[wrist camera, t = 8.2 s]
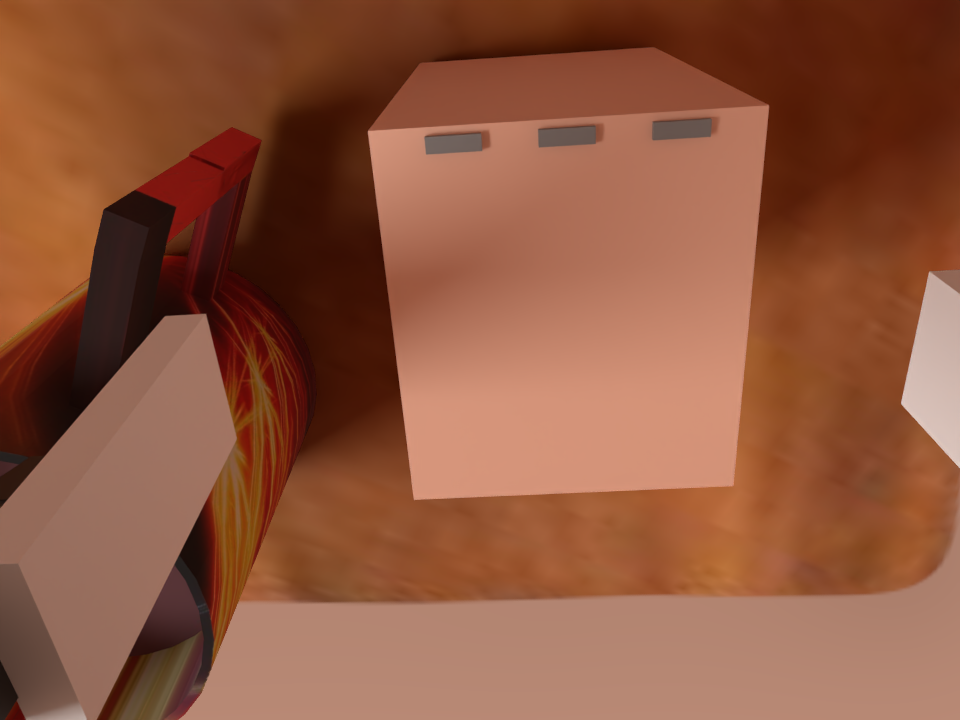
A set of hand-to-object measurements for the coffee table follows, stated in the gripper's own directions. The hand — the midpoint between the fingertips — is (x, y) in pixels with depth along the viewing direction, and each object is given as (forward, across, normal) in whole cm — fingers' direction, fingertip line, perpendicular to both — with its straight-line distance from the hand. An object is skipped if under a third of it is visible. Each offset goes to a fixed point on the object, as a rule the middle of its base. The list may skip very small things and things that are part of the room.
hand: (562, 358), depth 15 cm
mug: (+13, -13, -4) cm, 19 cm away
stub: (+12, 0, 0) cm, 12 cm away
